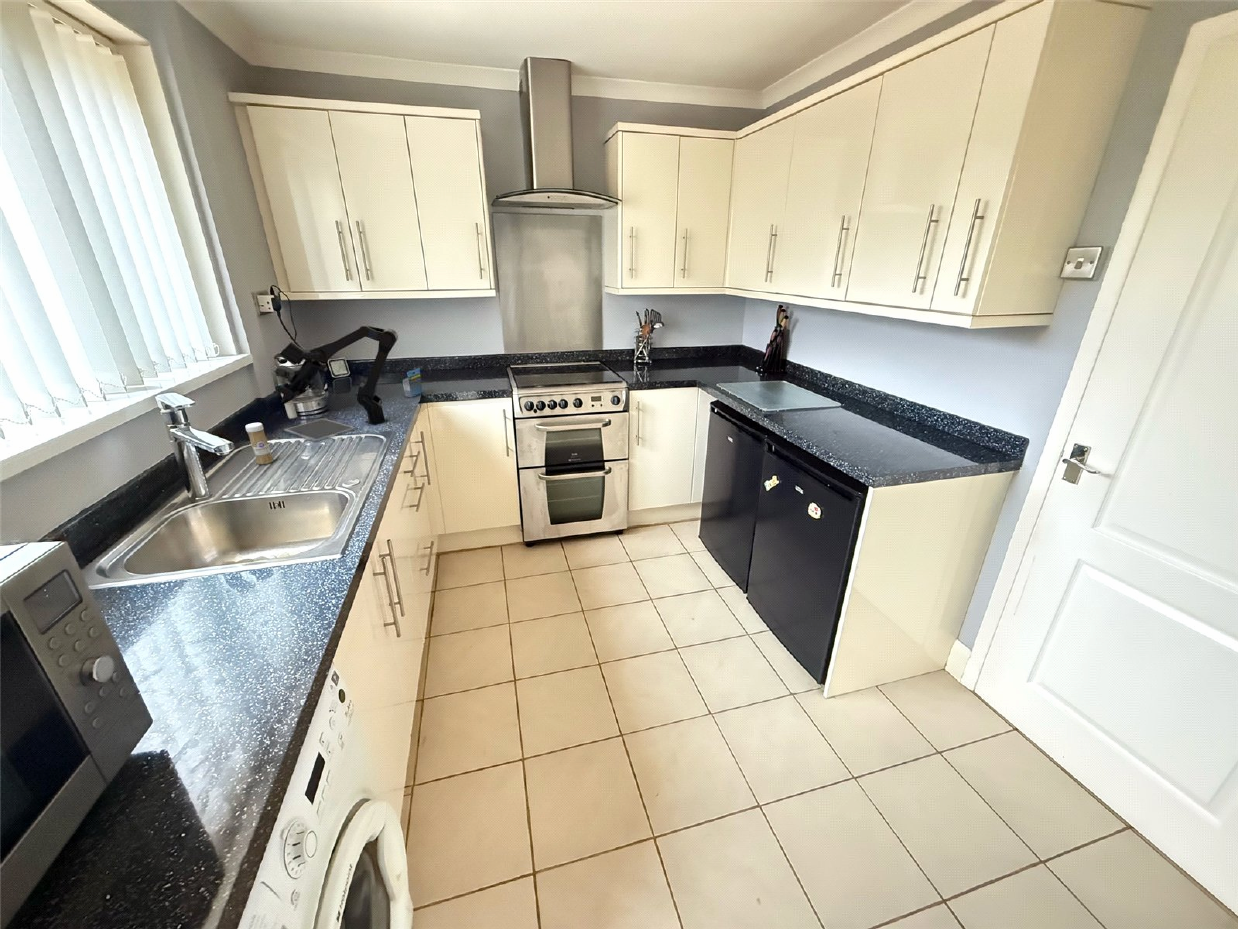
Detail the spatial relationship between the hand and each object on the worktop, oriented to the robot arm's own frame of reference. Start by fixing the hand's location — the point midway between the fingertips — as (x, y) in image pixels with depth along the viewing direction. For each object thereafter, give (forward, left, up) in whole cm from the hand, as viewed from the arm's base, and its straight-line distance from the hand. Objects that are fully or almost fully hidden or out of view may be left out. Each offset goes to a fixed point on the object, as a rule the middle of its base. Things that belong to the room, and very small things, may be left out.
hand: (284, 401), depth 192 cm
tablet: (-13, -4, -11) cm, 17 cm away
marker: (-1, -1, -7) cm, 7 cm away
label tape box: (-3, -56, -11) cm, 57 cm away
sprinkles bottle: (-28, +23, -11) cm, 38 cm away
